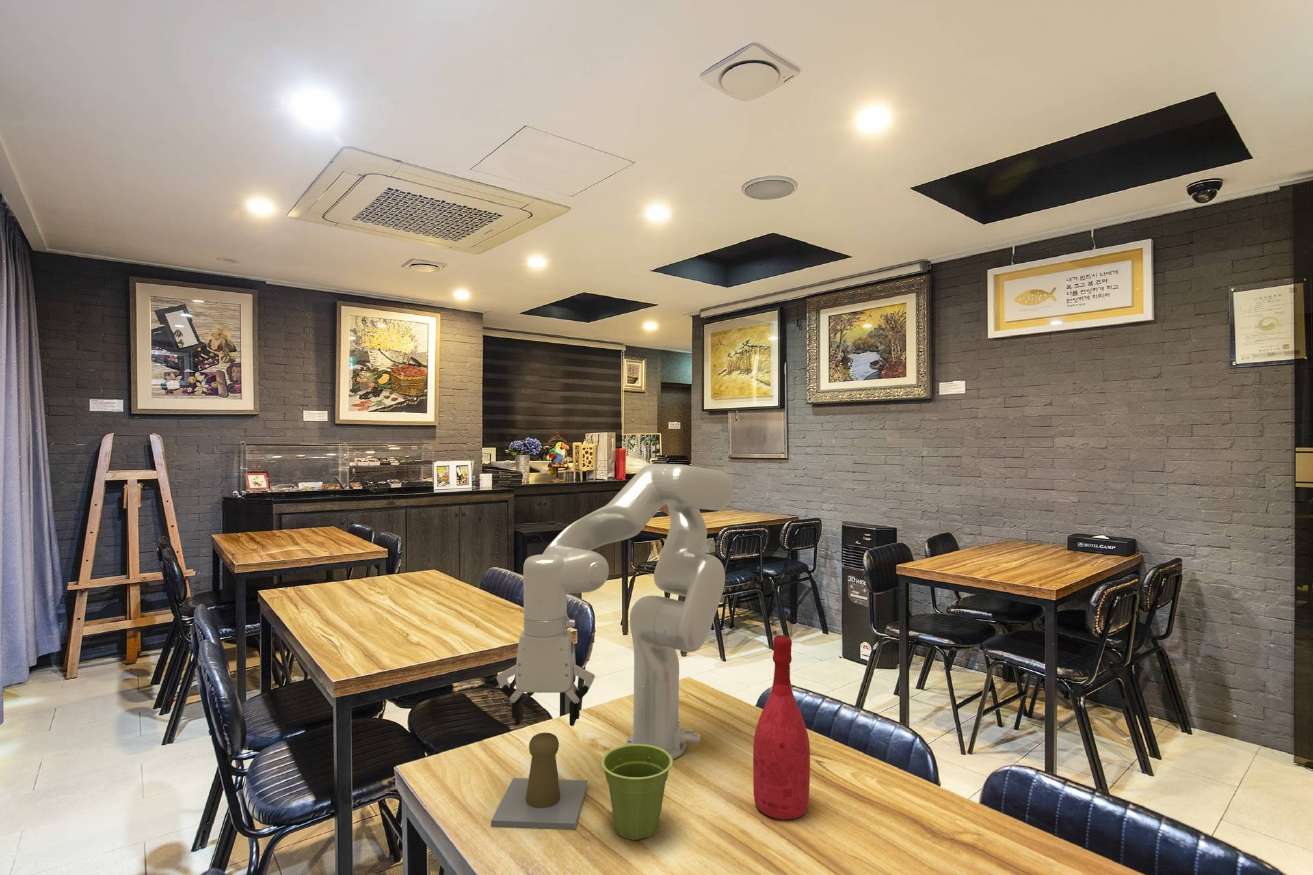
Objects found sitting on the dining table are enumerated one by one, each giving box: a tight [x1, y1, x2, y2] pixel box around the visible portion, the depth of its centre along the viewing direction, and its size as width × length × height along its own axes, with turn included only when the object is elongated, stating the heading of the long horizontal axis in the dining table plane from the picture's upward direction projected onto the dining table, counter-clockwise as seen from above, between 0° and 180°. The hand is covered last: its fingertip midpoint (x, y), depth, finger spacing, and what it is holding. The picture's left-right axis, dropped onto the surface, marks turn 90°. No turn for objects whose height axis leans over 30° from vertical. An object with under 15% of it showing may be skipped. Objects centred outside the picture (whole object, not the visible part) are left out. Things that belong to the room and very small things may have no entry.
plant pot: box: [600, 744, 674, 841], centre depth 107 cm, size 12×12×11 cm
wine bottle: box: [752, 634, 811, 820], centre depth 114 cm, size 10×10×30 cm
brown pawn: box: [526, 732, 560, 808], centre depth 114 cm, size 6×6×11 cm
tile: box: [490, 777, 589, 831], centre depth 114 cm, size 14×14×1 cm
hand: (546, 722), depth 115 cm, fingers open, 9 cm apart
